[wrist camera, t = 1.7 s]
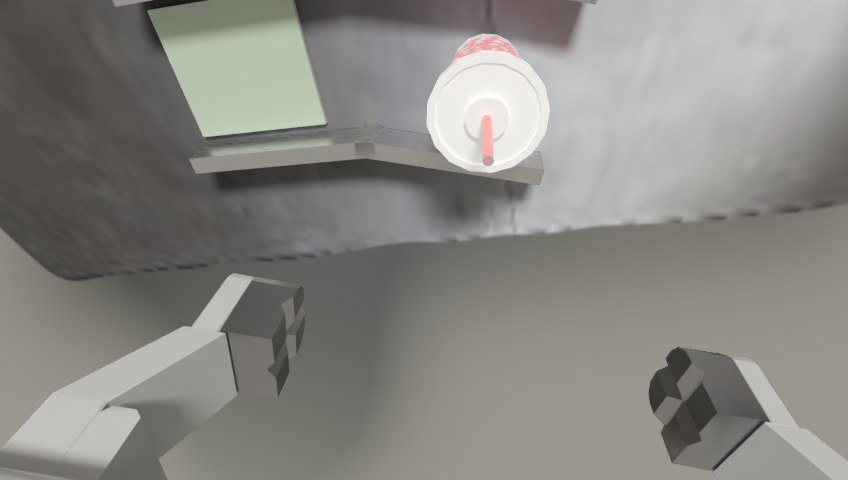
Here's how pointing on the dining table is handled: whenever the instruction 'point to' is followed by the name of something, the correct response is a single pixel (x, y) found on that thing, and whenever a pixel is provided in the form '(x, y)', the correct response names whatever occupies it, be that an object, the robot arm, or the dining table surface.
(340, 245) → the dining table surface
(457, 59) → the beverage cup
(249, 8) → the pad
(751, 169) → the dining table surface
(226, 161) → the rail corridor
